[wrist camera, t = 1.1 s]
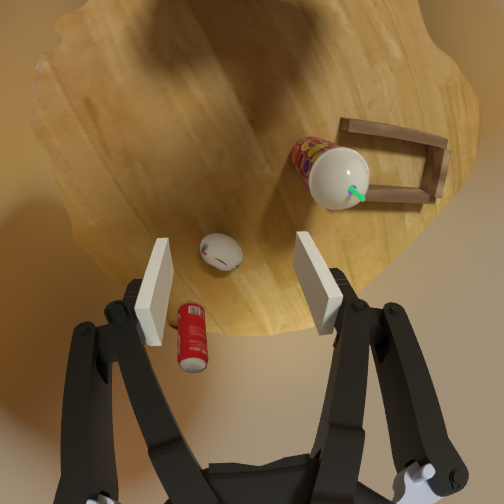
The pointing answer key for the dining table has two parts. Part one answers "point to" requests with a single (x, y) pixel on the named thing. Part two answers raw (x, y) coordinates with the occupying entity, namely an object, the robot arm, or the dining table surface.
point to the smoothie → (331, 172)
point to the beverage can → (192, 338)
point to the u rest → (433, 167)
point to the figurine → (221, 252)
